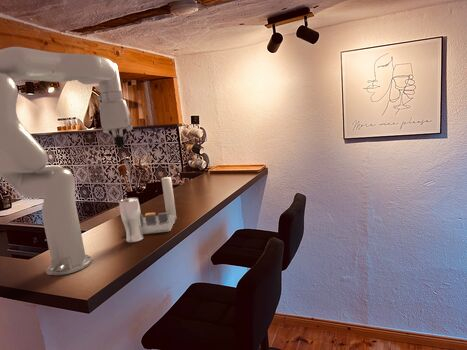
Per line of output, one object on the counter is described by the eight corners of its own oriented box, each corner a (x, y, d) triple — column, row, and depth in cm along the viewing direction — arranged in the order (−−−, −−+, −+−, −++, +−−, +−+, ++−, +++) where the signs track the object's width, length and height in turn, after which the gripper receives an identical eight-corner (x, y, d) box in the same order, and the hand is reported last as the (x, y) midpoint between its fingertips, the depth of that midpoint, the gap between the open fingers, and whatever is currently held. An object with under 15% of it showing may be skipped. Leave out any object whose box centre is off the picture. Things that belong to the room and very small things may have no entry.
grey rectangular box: (167, 219, 133) (166, 213, 133) (158, 220, 133) (157, 214, 133) (168, 218, 135) (167, 212, 135) (159, 219, 135) (158, 213, 135)
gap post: (175, 220, 143) (170, 178, 140) (166, 220, 143) (160, 179, 140) (177, 217, 147) (171, 176, 144) (168, 218, 147) (162, 177, 144)
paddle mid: (155, 221, 133) (154, 213, 133) (146, 221, 133) (144, 214, 133) (156, 219, 135) (155, 212, 135) (147, 220, 135) (146, 213, 135)
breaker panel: (169, 231, 129) (168, 223, 129) (128, 235, 129) (127, 227, 129) (175, 221, 141) (174, 214, 140) (136, 225, 141) (135, 217, 141)
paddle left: (142, 222, 133) (141, 216, 133) (133, 223, 133) (132, 217, 133) (143, 220, 135) (142, 214, 135) (134, 221, 135) (133, 215, 135)
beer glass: (138, 234, 129) (132, 196, 127) (148, 238, 124) (142, 198, 122) (121, 240, 125) (115, 201, 122) (130, 244, 120) (124, 203, 117)
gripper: (87, 99, 120) (97, 150, 124) (130, 95, 121) (138, 146, 125) (95, 100, 128) (104, 148, 132) (134, 95, 128) (143, 143, 132)
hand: (121, 147), depth 128 cm, fingers closed
